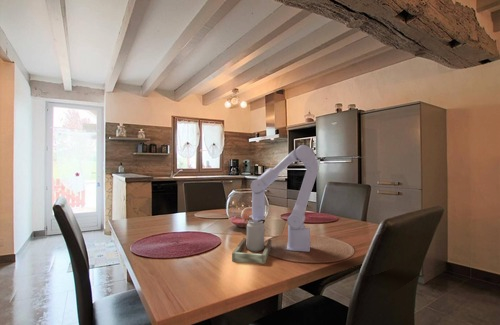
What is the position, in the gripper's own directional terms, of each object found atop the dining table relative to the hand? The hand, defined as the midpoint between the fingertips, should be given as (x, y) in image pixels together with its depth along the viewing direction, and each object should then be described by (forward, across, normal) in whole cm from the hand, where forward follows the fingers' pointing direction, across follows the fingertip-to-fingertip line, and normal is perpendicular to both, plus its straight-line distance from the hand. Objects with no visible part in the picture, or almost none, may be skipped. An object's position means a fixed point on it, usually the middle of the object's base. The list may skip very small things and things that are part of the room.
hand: (258, 236), depth 119 cm
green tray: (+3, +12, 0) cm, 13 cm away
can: (+4, +7, 0) cm, 8 cm away
